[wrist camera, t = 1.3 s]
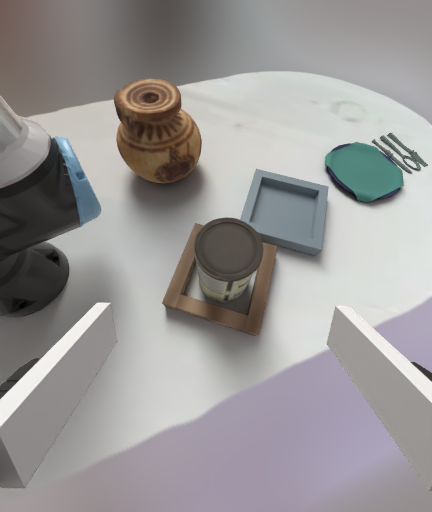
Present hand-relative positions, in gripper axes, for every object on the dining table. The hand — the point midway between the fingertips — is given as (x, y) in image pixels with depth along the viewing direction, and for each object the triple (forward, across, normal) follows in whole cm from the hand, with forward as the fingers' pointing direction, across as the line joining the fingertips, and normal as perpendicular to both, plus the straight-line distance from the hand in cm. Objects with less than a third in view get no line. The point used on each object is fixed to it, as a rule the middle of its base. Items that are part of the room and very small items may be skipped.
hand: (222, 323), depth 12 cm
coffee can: (+29, +1, -11) cm, 31 cm away
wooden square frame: (+29, +1, -10) cm, 31 cm away
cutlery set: (+53, +44, +13) cm, 70 cm away
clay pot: (+50, -14, +12) cm, 53 cm away
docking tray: (+41, +16, +2) cm, 44 cm away
